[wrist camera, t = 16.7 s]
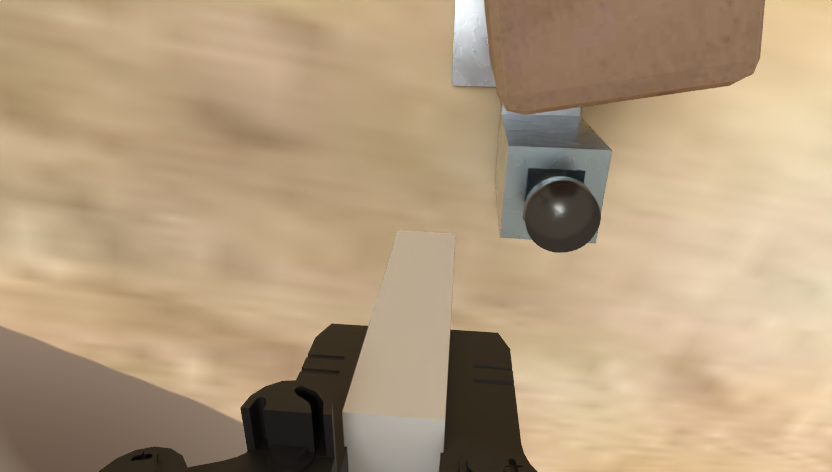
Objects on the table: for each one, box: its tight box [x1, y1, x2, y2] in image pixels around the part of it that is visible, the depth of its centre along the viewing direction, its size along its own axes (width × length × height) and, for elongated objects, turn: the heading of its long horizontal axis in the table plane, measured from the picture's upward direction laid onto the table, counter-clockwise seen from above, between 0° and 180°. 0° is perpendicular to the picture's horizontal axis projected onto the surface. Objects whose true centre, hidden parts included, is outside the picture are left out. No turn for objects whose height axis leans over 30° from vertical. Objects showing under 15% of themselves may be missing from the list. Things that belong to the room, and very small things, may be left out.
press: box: [452, 0, 612, 243], centre depth 34 cm, size 14×22×12 cm, turn 179°
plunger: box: [523, 168, 601, 252], centre depth 33 cm, size 4×4×10 cm
